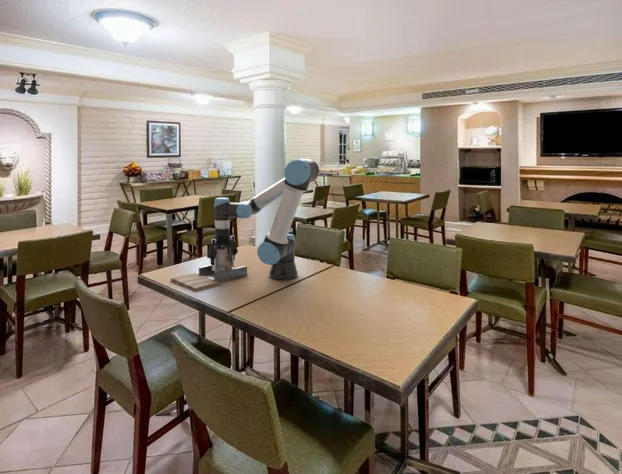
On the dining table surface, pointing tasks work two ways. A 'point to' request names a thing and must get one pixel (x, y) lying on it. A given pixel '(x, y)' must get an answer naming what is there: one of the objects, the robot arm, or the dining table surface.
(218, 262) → the coffee box
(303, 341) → the dining table surface
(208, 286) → the serving board
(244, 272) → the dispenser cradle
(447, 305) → the dining table surface
